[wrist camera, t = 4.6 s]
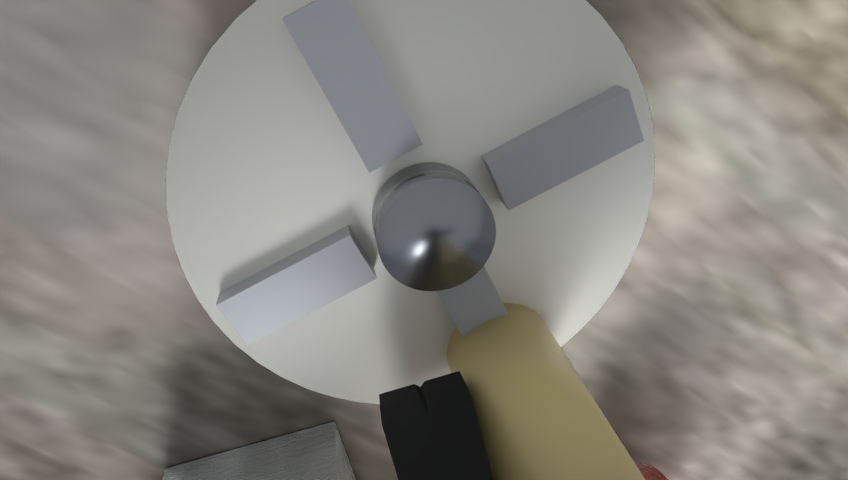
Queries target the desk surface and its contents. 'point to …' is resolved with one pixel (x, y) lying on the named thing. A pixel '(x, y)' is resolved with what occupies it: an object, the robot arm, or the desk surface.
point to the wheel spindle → (432, 227)
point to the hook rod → (650, 472)
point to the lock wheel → (388, 154)
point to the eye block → (275, 459)
